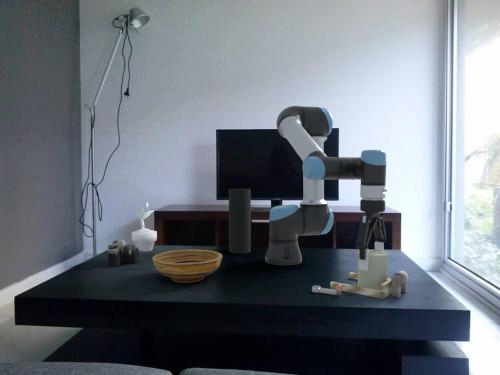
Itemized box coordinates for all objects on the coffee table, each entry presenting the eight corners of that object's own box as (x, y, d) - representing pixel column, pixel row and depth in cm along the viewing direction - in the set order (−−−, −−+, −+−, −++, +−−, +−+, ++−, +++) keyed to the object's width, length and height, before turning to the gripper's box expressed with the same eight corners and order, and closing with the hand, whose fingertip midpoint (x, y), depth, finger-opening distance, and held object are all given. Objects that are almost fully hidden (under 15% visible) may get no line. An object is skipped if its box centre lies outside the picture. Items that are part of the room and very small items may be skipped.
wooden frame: (330, 288, 118) (330, 267, 118) (350, 277, 131) (350, 259, 131) (397, 301, 105) (397, 278, 105) (413, 288, 118) (413, 268, 118)
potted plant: (143, 256, 167) (142, 200, 167) (126, 253, 174) (125, 199, 173) (164, 251, 178) (163, 199, 177) (147, 249, 184) (147, 198, 184)
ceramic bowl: (205, 293, 113) (205, 267, 113) (134, 288, 119) (133, 263, 119) (233, 270, 142) (233, 249, 141) (174, 266, 147) (174, 246, 147)
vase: (224, 253, 174) (224, 189, 174) (240, 250, 181) (240, 188, 181) (238, 256, 167) (238, 189, 166) (255, 253, 174) (255, 189, 173)
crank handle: (312, 291, 115) (312, 282, 115) (314, 290, 116) (314, 280, 116) (340, 296, 110) (340, 286, 110) (342, 294, 112) (342, 284, 112)
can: (389, 293, 113) (390, 254, 112) (358, 292, 115) (358, 253, 114) (385, 285, 122) (385, 248, 121) (356, 283, 124) (356, 247, 123)
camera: (131, 269, 144) (131, 243, 143) (104, 269, 143) (104, 243, 143) (142, 260, 159) (142, 237, 159) (118, 260, 159) (117, 237, 159)
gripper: (369, 202, 105) (368, 276, 106) (397, 197, 125) (395, 260, 126) (344, 200, 110) (343, 271, 111) (375, 196, 129) (373, 256, 130)
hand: (371, 265), depth 118 cm, fingers open, 13 cm apart
